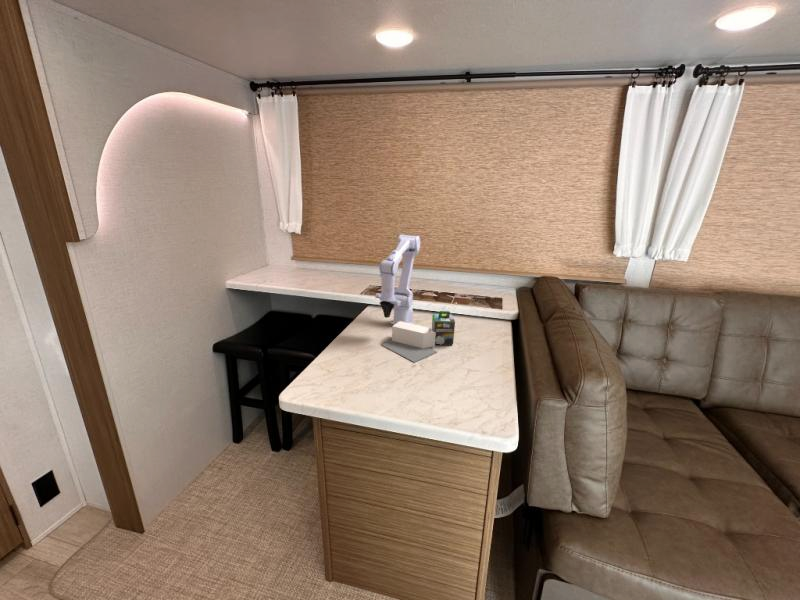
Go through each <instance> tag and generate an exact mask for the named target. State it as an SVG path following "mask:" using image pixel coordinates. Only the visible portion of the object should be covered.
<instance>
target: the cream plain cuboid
mask: <svg viewBox="0 0 800 600" xmlns="http://www.w3.org/2000/svg"><path fill="white" fill-rule="evenodd" d="M391 327H392V329H391V332H392V333H391V341H395V342H399V343H403V344H407V345H411V346H415V347H419V348H435V346H436V345H435V335H436V332H433V331H432V328H431V327H429V326H423V325H419V324H415V323H414V324H411V323H406V322H402V321H399V322H398V323H396V324H395V325H392V326H391Z"/></svg>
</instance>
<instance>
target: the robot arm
mask: <svg viewBox="0 0 800 600" xmlns="http://www.w3.org/2000/svg"><path fill="white" fill-rule="evenodd" d="M420 247H421V237H420V236H419V235H409V234H408V235H407V234H400V235H399V236H398V238H397V246H396V248H395V249H394V250H392V251H390V253H389V255H388V256H387V257H386V259H384V260H382V261H380V264H379V274H380V278H381V286H380V287H381V289H380V290H381V291H380V292H381V293H380V292H376V293H375V294H374V298H375V299H378V300H379V305H380V306H381V308H382V313H383V317H384V318H386V319H387V318H390V317H391V313H392V310H393V320H392V321H391V322H389V324H390V323H391V324H390V325H392V324H393V325H395V324H396V323H398V322H399V321H402V322H406V323H411V324H412V322H413V320H414V319H413V318H414V310H413V309H414V308H413V307H412V306H413V302H414V300H413V298H414V294H413V291H412V290H410V283H411V277H412V271H413V267H414V266H413V265H414V263H415V262H414V261H415V257H416V256H417V255H419V252H420ZM403 254H404V257H403ZM402 260H403V264H402V268H401V274H400V278H399V285H398V287H397V288H396V287H395V282H396V281H395V280H396V274H397V272H398V269H399V265H400V263H401V261H402ZM413 323H414V322H413ZM393 325H392V326H393Z"/></svg>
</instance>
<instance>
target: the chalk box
mask: <svg viewBox="0 0 800 600" xmlns="http://www.w3.org/2000/svg"><path fill="white" fill-rule="evenodd" d="M431 316H432V317H431V320H432V321H431V330H432V331H433V332H436V335H435V344H440V346H442V344H443V346H445V345H444V344H447V345H446V346H453V345H454V339H455V337H454V336H455V328H456V325H455V324H456V320H455V318H454V316H453V314H452V313H451V311H449V310H441V311H439V312H438V313H432V315H431ZM449 344H450V345H449ZM452 344H453V345H452Z"/></svg>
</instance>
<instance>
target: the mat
mask: <svg viewBox="0 0 800 600" xmlns="http://www.w3.org/2000/svg"><path fill="white" fill-rule="evenodd" d="M381 347H383V348H386V349H388V350H390V351H391V352H393V353H395V354H396V355H399V356H401V357H402V358H404V359H405V360H408V361H410V362H411V363H414V364H415V363H417V362H420V361H421V360H425V359H427V358H429V357H431V356H433V355H435V354H437V352H438V351H437V350H435V349H432V347H429V348H419V347H415V346H411V345H407V344H403V343H399V342H395V341H392V340H391V341H387V342H385V343H382V344H381Z"/></svg>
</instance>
